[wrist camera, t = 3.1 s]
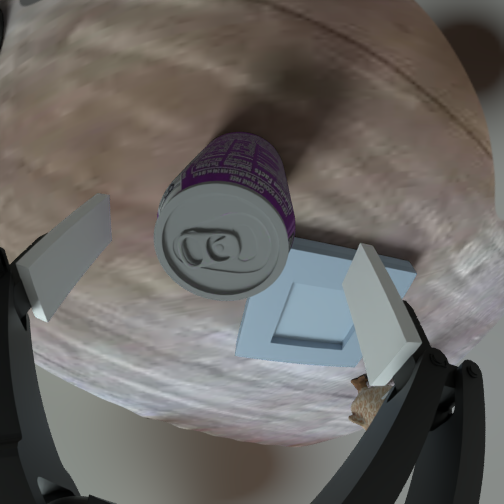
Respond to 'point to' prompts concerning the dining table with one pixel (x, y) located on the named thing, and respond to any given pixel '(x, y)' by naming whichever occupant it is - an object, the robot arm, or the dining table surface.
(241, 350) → the baseplate
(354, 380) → the figurine
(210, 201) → the beverage can
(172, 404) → the dining table surface
